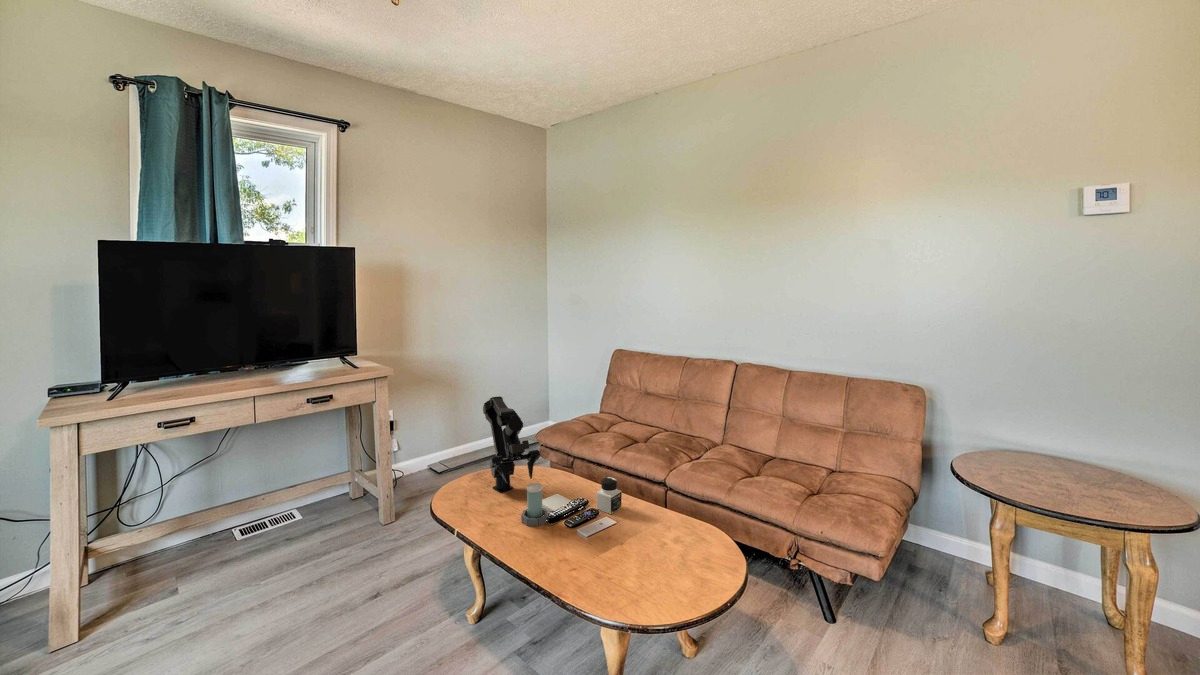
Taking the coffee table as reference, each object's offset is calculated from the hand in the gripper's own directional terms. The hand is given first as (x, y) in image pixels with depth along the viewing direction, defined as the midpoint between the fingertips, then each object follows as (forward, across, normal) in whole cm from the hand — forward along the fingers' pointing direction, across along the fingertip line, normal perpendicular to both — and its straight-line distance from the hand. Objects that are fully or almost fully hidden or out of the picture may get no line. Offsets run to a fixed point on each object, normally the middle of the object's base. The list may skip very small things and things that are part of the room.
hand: (519, 480), depth 183 cm
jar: (+14, +4, +5) cm, 15 cm away
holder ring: (+14, +4, +4) cm, 15 cm away
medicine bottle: (+17, +33, +2) cm, 37 cm away
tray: (+11, +16, +9) cm, 21 cm away
